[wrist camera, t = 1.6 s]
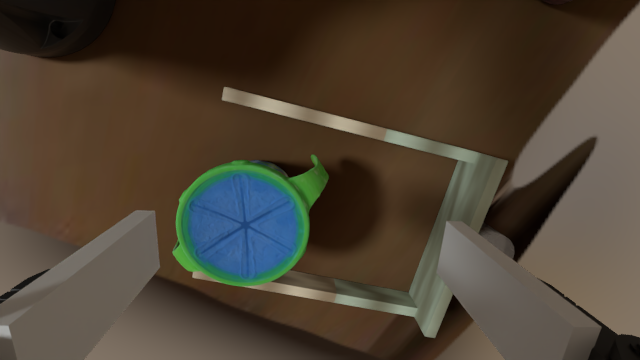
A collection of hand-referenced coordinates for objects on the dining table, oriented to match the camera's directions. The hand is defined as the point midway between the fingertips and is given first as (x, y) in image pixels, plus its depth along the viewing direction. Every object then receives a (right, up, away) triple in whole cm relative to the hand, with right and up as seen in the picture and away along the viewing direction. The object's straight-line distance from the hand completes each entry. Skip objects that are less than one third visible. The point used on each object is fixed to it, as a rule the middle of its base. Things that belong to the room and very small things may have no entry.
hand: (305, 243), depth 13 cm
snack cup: (-6, +2, +20) cm, 21 cm away
